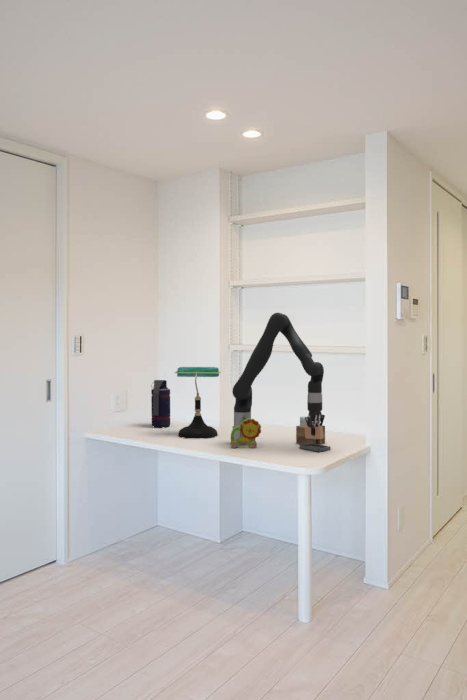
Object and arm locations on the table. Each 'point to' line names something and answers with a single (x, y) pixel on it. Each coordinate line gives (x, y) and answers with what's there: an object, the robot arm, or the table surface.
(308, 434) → the tan rectangular block
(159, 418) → the grenade
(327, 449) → the tray
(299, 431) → the cardboard shipping carton
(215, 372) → the banker's lamp
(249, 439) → the toy lion
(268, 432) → the table surface
